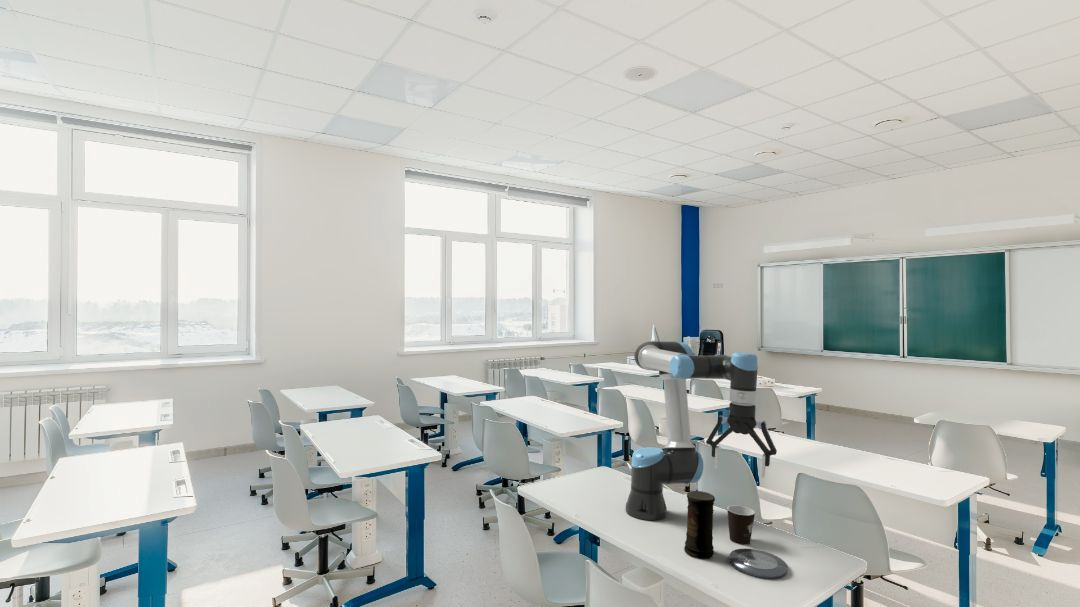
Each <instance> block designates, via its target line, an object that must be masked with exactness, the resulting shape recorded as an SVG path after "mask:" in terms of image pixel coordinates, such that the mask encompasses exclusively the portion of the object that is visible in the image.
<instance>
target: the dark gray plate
mask: <svg viewBox="0 0 1080 607" xmlns="http://www.w3.org/2000/svg"><path fill="white" fill-rule="evenodd" d="M728 558H729V560H728V561H729V564H730V566H732V568H733V569H735V570H737V571H738V572H740V573H743V574H744V575H747V576H749V577H753V578H757V579H763V580H778V579H782V578H785V577H786V576H787V574H788V564H787V563H786V562H785V560H784V559H783V558H780V557H779V556H778V555H776V554H773V553H770V552H768V551H765V550H760V549H757V548H737V549H734V550H732V551H730V552H729V557H728Z"/></svg>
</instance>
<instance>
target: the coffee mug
mask: <svg viewBox="0 0 1080 607" xmlns="http://www.w3.org/2000/svg"><path fill="white" fill-rule="evenodd" d="M726 509H727V521H728V523H727V524H728V533H729V540H730V541H731V542H733V543H735V544H738V545H742V546H744V545H745V546H747V545H750V544H751V541H752V534H753V527H754V521H755V514H756V512H755V510H754V509H752V508H750V507H747V506H744V505H736V504H735V505H734V504H733V505H729V506H727V507H726Z"/></svg>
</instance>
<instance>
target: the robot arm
mask: <svg viewBox="0 0 1080 607" xmlns="http://www.w3.org/2000/svg"><path fill="white" fill-rule="evenodd" d="M633 358H634V362H635V364H636V365H637V366H638V367H639V368H641V369H642V370H646V371H651V372H652V371H654V372H655V371H656V372H658V375H659V378H661V379H662V380H663V392H664V406H665V407H664V408H665V419H666V420H665V422H666V433H667V443H666V444H665V446H664V447H663V448H664V449H662V448H661V447H654V446H653V447H652V446H647V447H640V448H638V449H636V450H634V451H633V453H632V457H631V463H630V465H631V480H630V492H629V494H628V496H627V500H626V503H625V512H626V514H628V515H629V516H631V517H633V518H635V519H638V520H643V521H660V520H663V519H665V518H666V517H667V516H668V513H667V512H668V507H667V505H666V501H665V497H664V494H663V493H664V492H663V491H664V490H663V488H664V485H683V484H684V485H689V484H695V483H697V482H699V481H700V480H701V478H702V476H703V473H704V459H703V457H702V454H701V453H700V452H699V451H698V450H697V448H696V446H695V444H693V443H692V438H691V428H690V427H691V426H690V414H689V413H690V412H689V402H688V401H689V400H688V390H687V379H689V380H690V379H694V380H695V379H698V380H699V379H700V380H701V379H703V380H705V379H706V380H707V379H708V380H716V379H717V380H726V381H730V386H729V387H730V388H729V389H730V391H729V401H730V403H729V405H728V406H729V407H728V408H729V409H728V410H729V411H728V417H726V416H724V415H723V414H721V415H719V416H718V417H717V420H716V421H717V423H716V424H715V426H714V428H713V429H712V431H711V432H710V434H709V436H708V437H707V439H706V441H705V443H706V444H707V445H709V446H710V447H711V457H712V458H714V470H717V469H718V468H719V467H720V466H719V465H720V462H719V461H720V446H719V444H720V443H721V442H722V441H723V440H724V439H725V438H726V437H728V436H729V435H730V434H731V433H732V432H734V433H735V434H742V435H749V436H750V437H751V438H752V439H753V440H754V442H755V443H756V445H757V446H758V447H759V448H760V450H761V451H762V452H763V453H762V461H761V478H764V479H765V477H766V467H769V466H770V464H771V463H770V462H771V456H776V455H777V452H778V451H777V449H776V446H775V444H774V441H773V440H772V437H771V435H770V433H769V431H768V428H767V422H766V421H765V420H762V421H756V407H757V406H756V405H755V404H756V403H757V387H758V386H757V383H758V382H757V381H758V369H759V366H758V356H757V354H755V353H750V352H736V351H735V352H733V353H732V354H731V356H729V355H727V354H714V355H705V354H704V355H696V354H694V352H693V350H692V348H691V347H690V345H689V344H688V343H685V342H683V341H681V342H680V341H655V340H654V341H653V340H651V341H646V342H642V343H641V344H639V345H638V346H637V347H636V349H635V352H634V355H633ZM726 422H727V424H728V425H729V427H728V428H727V429H726V430H725V431H724V432H723V433H722V434H721V435H719V437H718V438H717V439H716V440H713V439H714V438H715V437H716V435H717V433H718V432H719V430H720V428H721V426H722V424H723V425H724V424H725V423H726ZM756 426H757V427H758V428H759V429H760V430H761V433H762V436H763V437H764V440H765V441H766V444H767V445H766V444H765V443H764V442H763V440H762V438H760V437H759V435H758V433H757V432H756V431H755V430H754V429H755V427H756ZM767 446H768V447H767Z"/></svg>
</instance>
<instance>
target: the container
mask: <svg viewBox="0 0 1080 607" xmlns="http://www.w3.org/2000/svg"><path fill="white" fill-rule="evenodd" d="M686 498H687V518H686V519H687V522H686V533H685V535H686V536H685V537H686V539H685V542H684V548H683V550H684V552H685V554H686V555H687V556H689V557H691V558H695V559H699V560H708V559H712V558H713V556H714V554H715V552H714V545H713V540H714V536H713V530H714V529H713V528H714V512H715V511H714V504H715V500H716V498H715V495H713V494H712V493H710V492H706V491H701V490H691V491H689V492H687V494H686Z"/></svg>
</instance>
